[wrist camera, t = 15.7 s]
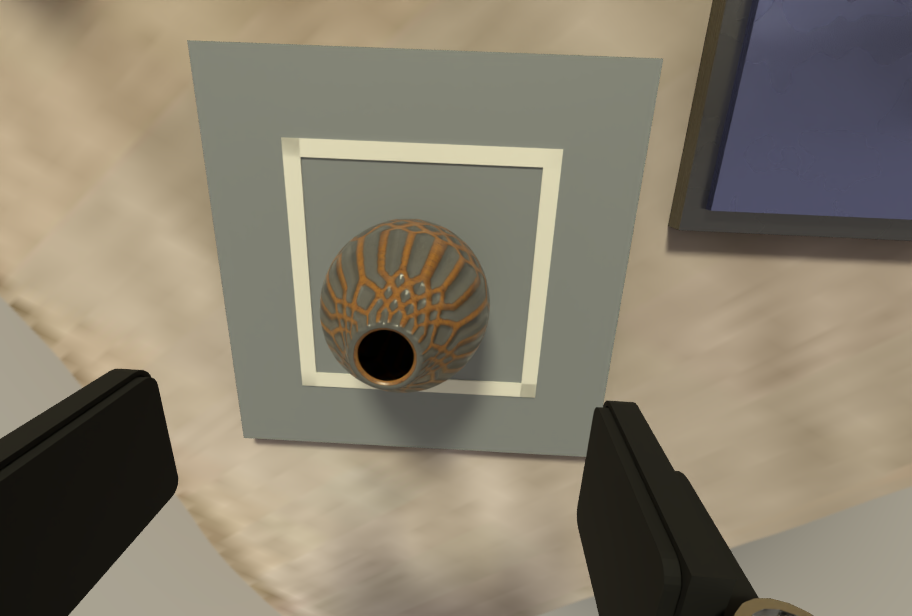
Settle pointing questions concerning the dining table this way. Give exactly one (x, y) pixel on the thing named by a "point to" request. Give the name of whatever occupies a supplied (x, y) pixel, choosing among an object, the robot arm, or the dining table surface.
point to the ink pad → (801, 121)
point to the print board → (431, 199)
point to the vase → (404, 305)
